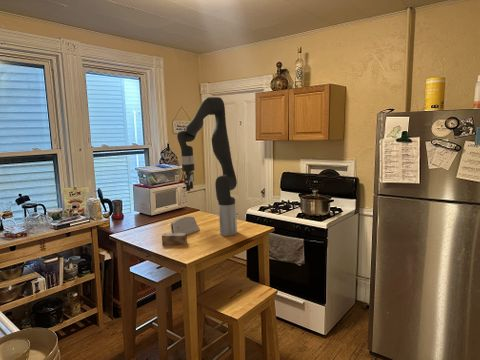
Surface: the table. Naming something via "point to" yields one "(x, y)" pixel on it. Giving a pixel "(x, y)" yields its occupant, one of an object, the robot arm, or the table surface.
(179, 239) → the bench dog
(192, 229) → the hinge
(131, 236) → the table surface
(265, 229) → the table surface
